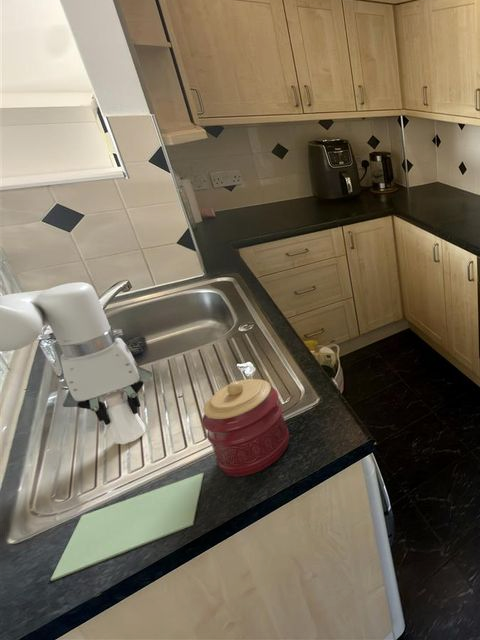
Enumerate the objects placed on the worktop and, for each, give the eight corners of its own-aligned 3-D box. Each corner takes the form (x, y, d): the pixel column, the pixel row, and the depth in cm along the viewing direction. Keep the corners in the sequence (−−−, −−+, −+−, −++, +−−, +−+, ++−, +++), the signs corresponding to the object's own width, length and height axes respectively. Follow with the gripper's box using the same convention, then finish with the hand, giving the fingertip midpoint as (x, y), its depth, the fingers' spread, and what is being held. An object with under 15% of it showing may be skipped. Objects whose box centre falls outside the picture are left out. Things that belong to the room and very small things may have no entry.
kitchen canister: (283, 420, 94) (264, 355, 87) (297, 453, 84) (277, 384, 78) (215, 450, 86) (189, 381, 80) (224, 491, 77) (195, 417, 70)
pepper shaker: (141, 423, 93) (124, 383, 89) (151, 432, 90) (133, 391, 87) (110, 438, 89) (91, 398, 85) (119, 448, 86) (99, 407, 82)
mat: (51, 581, 63) (50, 579, 62) (82, 517, 73) (81, 515, 72) (193, 525, 70) (192, 523, 70) (204, 473, 80) (203, 472, 80)
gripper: (142, 321, 89) (169, 389, 96) (30, 352, 79) (68, 426, 85) (144, 334, 84) (172, 405, 90) (24, 369, 73) (65, 446, 80)
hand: (121, 415), depth 88 cm, fingers closed on pepper shaker, 3 cm apart
